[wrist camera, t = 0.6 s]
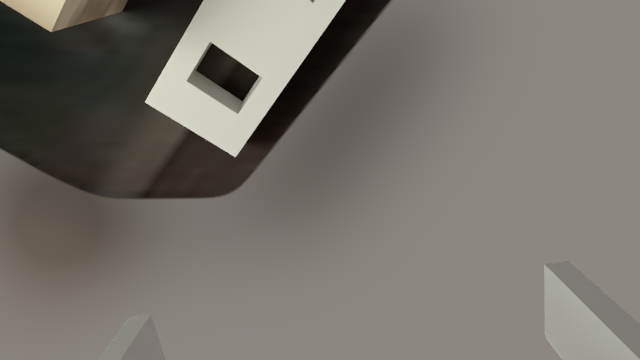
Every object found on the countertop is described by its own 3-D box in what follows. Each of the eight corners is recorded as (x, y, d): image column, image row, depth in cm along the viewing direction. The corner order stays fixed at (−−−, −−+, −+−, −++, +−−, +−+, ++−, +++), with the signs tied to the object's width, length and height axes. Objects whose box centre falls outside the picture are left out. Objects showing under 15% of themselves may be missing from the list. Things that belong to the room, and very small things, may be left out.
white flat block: (294, -147, 29) (295, -160, 26) (383, -66, 32) (394, -69, 29) (157, 90, 36) (144, 102, 33) (240, 141, 38) (235, 157, 35)
